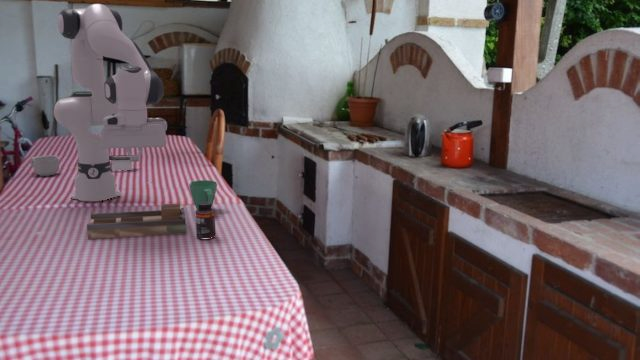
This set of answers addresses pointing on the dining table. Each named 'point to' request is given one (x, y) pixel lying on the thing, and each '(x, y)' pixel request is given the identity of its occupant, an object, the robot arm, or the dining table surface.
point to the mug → (203, 191)
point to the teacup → (45, 165)
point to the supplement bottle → (205, 220)
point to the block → (170, 211)
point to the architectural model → (120, 162)
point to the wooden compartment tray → (133, 224)
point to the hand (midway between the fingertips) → (134, 161)
